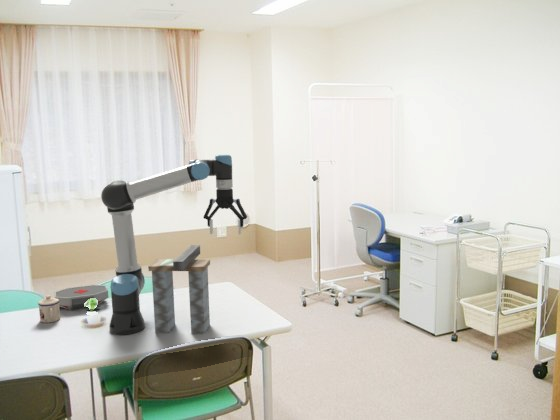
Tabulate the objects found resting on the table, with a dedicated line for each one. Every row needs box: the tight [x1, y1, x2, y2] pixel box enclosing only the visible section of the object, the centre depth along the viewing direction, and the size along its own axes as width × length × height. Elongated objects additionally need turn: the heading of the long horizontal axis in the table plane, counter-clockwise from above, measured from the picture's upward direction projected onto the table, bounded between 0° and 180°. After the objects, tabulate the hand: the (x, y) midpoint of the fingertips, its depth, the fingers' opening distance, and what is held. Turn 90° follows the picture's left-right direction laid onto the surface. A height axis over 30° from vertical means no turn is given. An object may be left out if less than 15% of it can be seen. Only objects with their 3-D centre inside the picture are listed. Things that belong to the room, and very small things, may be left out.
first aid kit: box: [54, 284, 109, 310], centre depth 273 cm, size 18×8×25 cm
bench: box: [148, 258, 211, 334], centre depth 237 cm, size 24×12×30 cm, turn 85°
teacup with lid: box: [37, 294, 61, 324], centre depth 251 cm, size 12×9×12 cm
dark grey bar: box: [173, 244, 201, 272], centre depth 236 cm, size 4×30×4 cm, turn 175°
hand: (225, 233), depth 252 cm, fingers open, 13 cm apart
